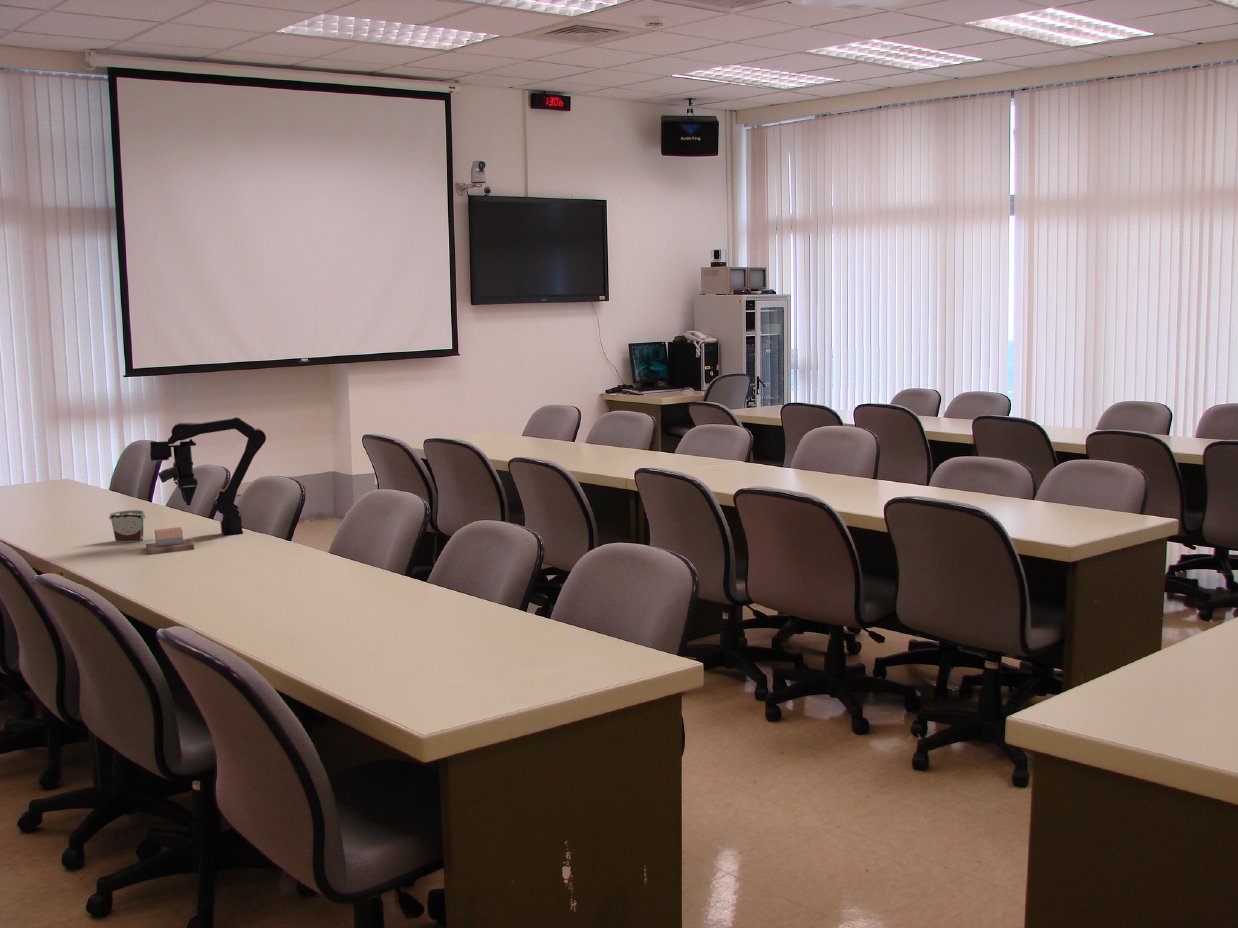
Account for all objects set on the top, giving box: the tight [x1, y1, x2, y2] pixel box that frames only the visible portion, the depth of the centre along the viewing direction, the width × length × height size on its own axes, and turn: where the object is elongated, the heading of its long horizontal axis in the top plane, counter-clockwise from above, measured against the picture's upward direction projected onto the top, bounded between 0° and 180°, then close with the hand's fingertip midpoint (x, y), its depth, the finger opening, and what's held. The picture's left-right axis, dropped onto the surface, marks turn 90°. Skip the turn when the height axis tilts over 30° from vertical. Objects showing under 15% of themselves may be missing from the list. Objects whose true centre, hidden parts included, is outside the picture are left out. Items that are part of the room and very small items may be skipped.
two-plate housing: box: [154, 526, 184, 547], centre depth 363 cm, size 5×8×5 cm, turn 119°
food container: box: [109, 509, 146, 543], centre depth 380 cm, size 12×6×10 cm, turn 84°
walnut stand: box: [145, 538, 195, 555], centre depth 364 cm, size 14×11×2 cm
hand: (187, 503), depth 381 cm, fingers open, 9 cm apart
